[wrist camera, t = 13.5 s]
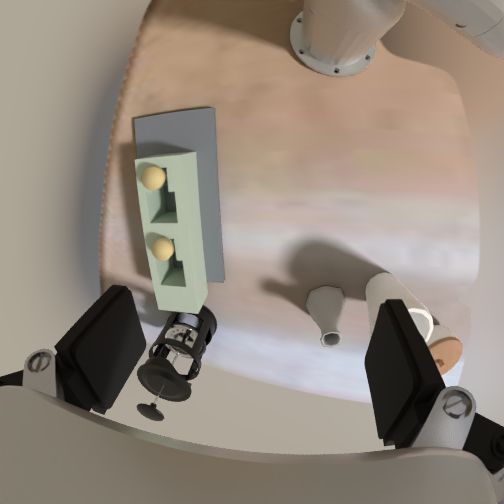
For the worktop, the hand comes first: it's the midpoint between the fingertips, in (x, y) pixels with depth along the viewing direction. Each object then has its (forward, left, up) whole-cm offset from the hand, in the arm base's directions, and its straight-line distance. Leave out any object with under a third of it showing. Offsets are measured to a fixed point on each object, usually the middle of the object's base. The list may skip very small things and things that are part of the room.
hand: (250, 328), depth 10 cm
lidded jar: (+30, +32, -33) cm, 55 cm away
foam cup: (+18, +18, -33) cm, 42 cm away
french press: (+27, -17, -33) cm, 46 cm away
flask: (+21, +8, -34) cm, 40 cm away
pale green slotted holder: (+7, -16, -32) cm, 36 cm away
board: (+3, -16, -33) cm, 37 cm away
